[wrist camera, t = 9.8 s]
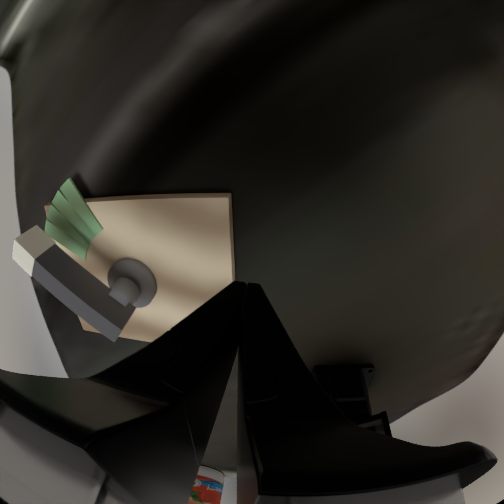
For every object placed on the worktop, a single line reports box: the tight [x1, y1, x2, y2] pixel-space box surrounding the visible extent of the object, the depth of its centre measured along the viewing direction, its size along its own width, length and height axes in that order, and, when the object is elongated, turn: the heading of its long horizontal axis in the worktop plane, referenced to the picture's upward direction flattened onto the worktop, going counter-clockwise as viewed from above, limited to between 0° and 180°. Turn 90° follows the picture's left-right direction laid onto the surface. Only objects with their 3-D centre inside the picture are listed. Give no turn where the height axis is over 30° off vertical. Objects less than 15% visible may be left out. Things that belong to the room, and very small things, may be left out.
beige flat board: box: [45, 177, 235, 342], centre depth 23 cm, size 16×18×2 cm
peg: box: [12, 225, 140, 343], centre depth 19 cm, size 11×2×4 cm, turn 53°
